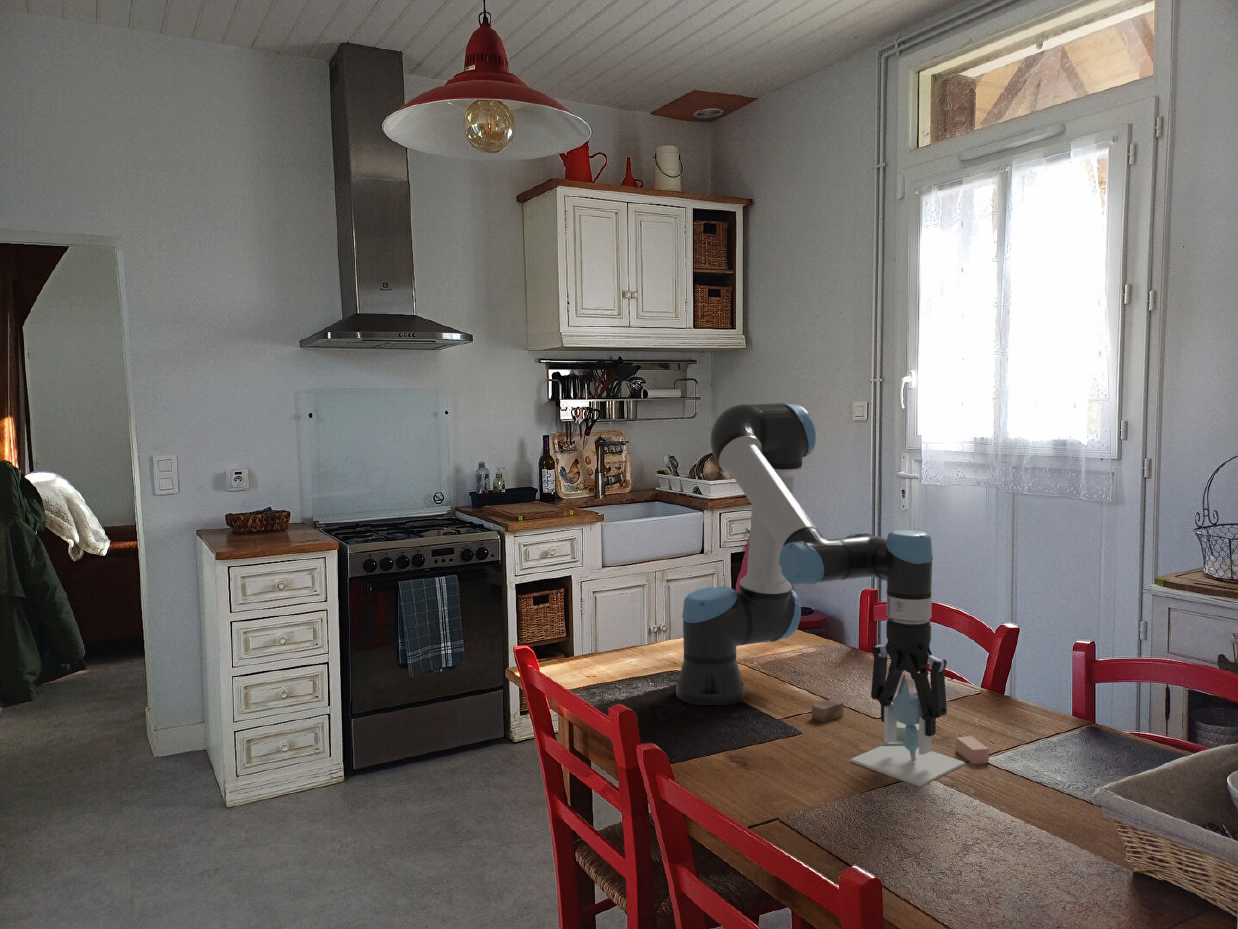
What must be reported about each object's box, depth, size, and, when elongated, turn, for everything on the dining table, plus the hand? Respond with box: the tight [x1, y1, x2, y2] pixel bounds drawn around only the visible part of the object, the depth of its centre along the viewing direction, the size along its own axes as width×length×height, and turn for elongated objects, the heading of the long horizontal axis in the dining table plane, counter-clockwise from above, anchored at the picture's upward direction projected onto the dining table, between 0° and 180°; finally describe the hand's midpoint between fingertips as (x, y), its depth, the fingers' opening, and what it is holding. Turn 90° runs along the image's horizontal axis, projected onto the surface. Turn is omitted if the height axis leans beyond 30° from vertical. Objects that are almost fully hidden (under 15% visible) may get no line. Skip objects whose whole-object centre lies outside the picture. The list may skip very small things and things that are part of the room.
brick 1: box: [811, 698, 844, 723], centre depth 184 cm, size 6×3×3 cm, turn 125°
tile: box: [850, 740, 966, 787], centre depth 160 cm, size 14×14×1 cm
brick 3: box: [955, 735, 990, 765], centre depth 162 cm, size 6×3×3 cm, turn 8°
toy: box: [880, 673, 924, 761], centre depth 160 cm, size 7×6×15 cm
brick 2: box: [896, 721, 919, 741], centre depth 171 cm, size 6×3×3 cm, turn 70°
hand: (907, 746), depth 160 cm, fingers closed on toy, 6 cm apart
